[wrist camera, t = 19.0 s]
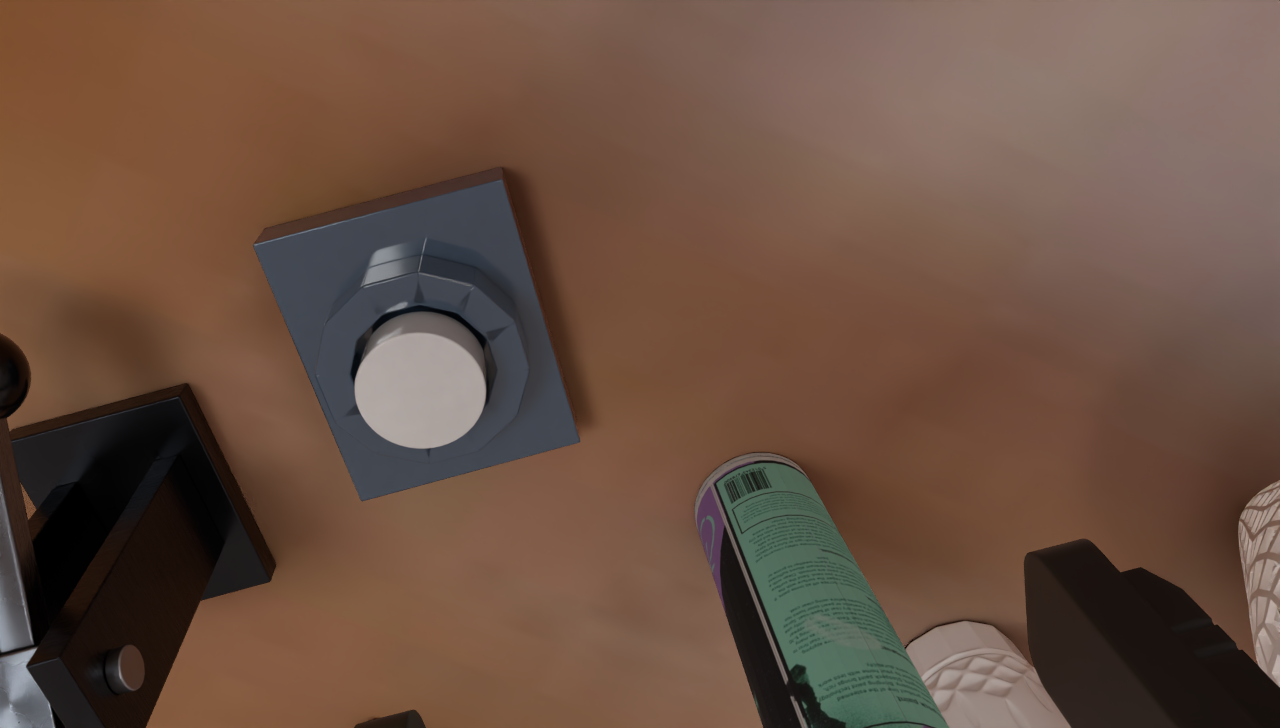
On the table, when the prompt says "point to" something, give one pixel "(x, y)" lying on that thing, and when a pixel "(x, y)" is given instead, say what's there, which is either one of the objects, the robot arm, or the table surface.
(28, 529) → the flush lever
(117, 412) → the flush bracket
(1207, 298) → the table surface
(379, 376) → the flush button
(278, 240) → the flush plate
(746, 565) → the spray can
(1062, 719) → the white cup
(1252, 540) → the heart
